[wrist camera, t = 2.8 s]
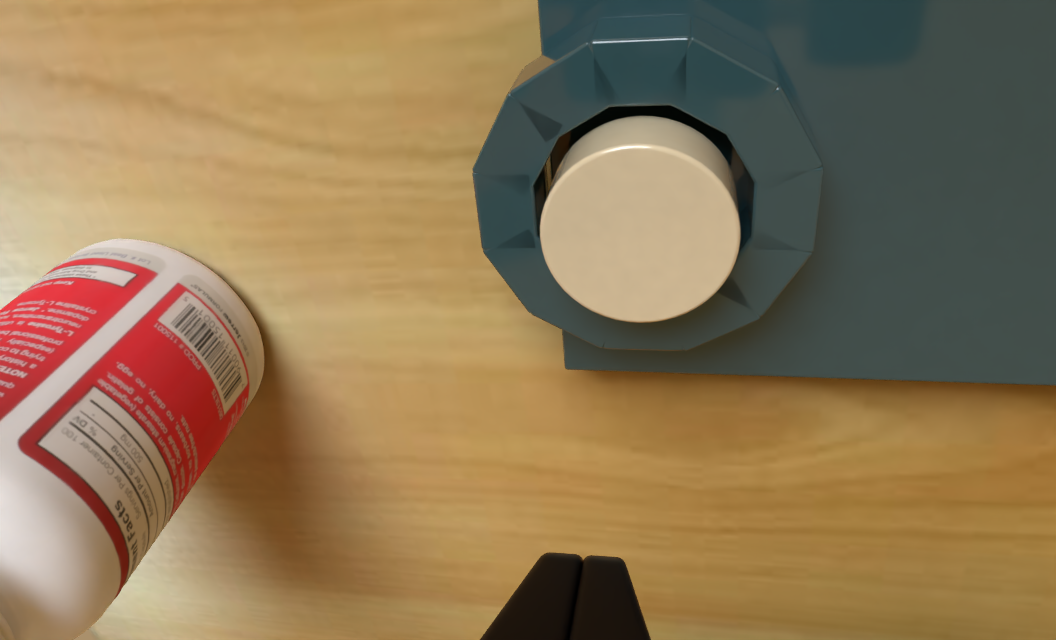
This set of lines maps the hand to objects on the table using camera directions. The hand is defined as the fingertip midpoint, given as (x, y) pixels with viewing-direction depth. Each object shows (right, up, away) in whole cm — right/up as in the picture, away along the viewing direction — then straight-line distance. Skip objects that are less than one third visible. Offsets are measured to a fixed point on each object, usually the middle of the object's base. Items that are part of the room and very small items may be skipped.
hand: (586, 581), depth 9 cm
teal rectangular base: (+8, +6, +9) cm, 13 cm away
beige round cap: (+2, +5, +8) cm, 9 cm away
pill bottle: (-11, +3, +15) cm, 19 cm away
